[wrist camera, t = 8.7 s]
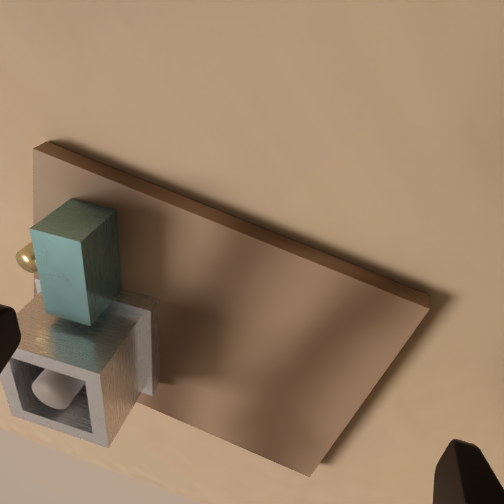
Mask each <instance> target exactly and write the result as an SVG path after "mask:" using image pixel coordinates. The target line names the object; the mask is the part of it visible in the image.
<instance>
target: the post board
mask: <svg viewBox="0 0 504 504" xmlns="http://www.w3.org/2000/svg"><path fill="white" fill-rule="evenodd" d="M70 198H73V199H77V200H81V201H85V202H89V203H93V204H97V205H101V206H105V207H109V208H114V209H117V216H118V232H119V247H120V262H121V277H122V289H124V290H128V291H132V292H135V293H139V294H142V295H146V296H150V297H153V298H157V299H159V332H160V384H159V385H158V387H157V389H156V391H155V392H154V394H153V396H151V395H148V394H145V393H141V394H140V396H139V398H138V399H137V401H136V402H139V403H141V404H143V405H145V406H148V407H150V408H152V409H155V410H157V411H159V412H161V413H164V414H166V415H168V416H171V417H173V418H175V419H177V420H180V421H182V422H184V423H187V424H189V425H191V426H194V427H196V428H198V429H200V430H203V431H205V432H207V433H210V434H212V435H214V436H216V437H219V438H221V439H223V440H226V441H228V442H230V443H232V444H235V445H237V446H239V447H242V448H244V449H246V450H249V451H251V452H253V453H255V454H258V455H260V456H262V457H265V458H267V459H269V460H271V461H274V462H276V463H278V464H281V465H283V466H285V467H287V468H290V469H292V470H294V471H297V472H299V473H301V474H303V475H306V476H308V477H310V476H311V474H312V473H313V472H314V470H315V469H316V467H317V466H318V465H319V463H320V462H321V460H322V459H323V458H324V456H325V455H326V453H327V452H328V451H329V449H330V448H331V446H332V445H333V444H334V442H335V441H336V439H337V438H338V437H339V435H340V434H341V432H342V431H343V430H344V428H345V427H346V425H347V424H348V423H349V421H350V420H351V418H352V417H353V416H354V414H355V413H356V411H357V410H358V409H359V407H360V406H361V404H362V403H363V402H364V400H365V399H366V397H367V396H368V395H369V393H370V392H371V390H372V389H373V388H374V386H375V385H376V383H377V382H378V381H379V379H380V378H381V376H382V375H383V374H384V372H385V371H386V369H387V368H388V367H389V365H390V364H391V362H392V361H393V360H394V358H395V357H396V355H397V354H398V353H399V351H400V350H401V349H402V347H403V346H404V344H405V343H406V342H407V340H408V339H409V337H410V336H411V335H412V333H413V332H414V330H415V329H416V328H417V326H418V325H419V323H420V322H421V321H422V319H423V318H424V316H425V315H426V314H427V312H428V311H429V309H430V306H429V295H427V294H425V293H422V292H420V291H417V290H415V289H412V288H410V287H407V286H405V285H402V284H400V283H397V282H395V281H393V280H390V279H388V278H385V277H383V276H380V275H378V274H375V273H373V272H370V271H368V270H365V269H363V268H360V267H358V266H355V265H353V264H350V263H348V262H345V261H343V260H340V259H338V258H335V257H333V256H330V255H328V254H325V253H323V252H320V251H318V250H315V249H313V248H311V247H308V246H306V245H303V244H301V243H298V242H296V241H293V240H291V239H288V238H286V237H283V236H281V235H278V234H276V233H273V232H271V231H268V230H266V229H263V228H261V227H258V226H256V225H253V224H251V223H248V222H246V221H243V220H241V219H238V218H236V217H234V216H231V215H229V214H226V213H224V212H221V211H219V210H216V209H214V208H211V207H209V206H206V205H204V204H201V203H199V202H196V201H194V200H191V199H189V198H186V197H184V196H181V195H179V194H176V193H174V192H171V191H169V190H166V189H164V188H161V187H159V186H156V185H154V184H152V183H149V182H147V181H144V180H142V179H139V178H137V177H134V176H132V175H129V174H127V173H124V172H122V171H119V170H117V169H114V168H112V167H109V166H107V165H104V164H102V163H99V162H97V161H94V160H92V159H89V158H87V157H84V156H82V155H79V154H77V153H75V152H72V151H70V150H67V149H65V148H62V147H60V146H57V145H55V144H52V143H50V142H45V143H43V144H41V145H39V146H37V147H35V148H33V207H34V225H35V224H36V223H38V222H39V221H40V220H42V219H43V218H45V217H46V216H47V215H49V214H50V213H51V212H53V211H54V210H55V209H57V208H58V207H60V206H61V205H62V204H64V203H65V202H66V201H68V200H69V199H70ZM37 276H38V271H37V272H35V273H34V278H36V277H37ZM37 295H38V294H37V289H36V284H35V279H34V297H35V296H37ZM84 384H85V381H84V380H80V379H77V378H74V377H71V376H68V375H65V374H62V373H58V372H55V371H52V370H49V369H46V368H45V369H44V371H43V372H42V373H41V374H40V375H39V376H38V377H37V379H36V380H35V381H34V382H33V383H32V390H33V393H34V394H35V396H36V397H37V398H38V399H39V400H40V401H41V402H43V403H44V404H46V405H48V406H50V407H52V408H55V409H65V408H67V407H68V405H69V404H70V403H71V401H72V400H73V399H74V397H75V396H76V395H77V393H78V392H79V391H80V389H81V388H82V387H83V385H84Z"/></svg>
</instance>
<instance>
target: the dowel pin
mask: <svg viewBox="0 0 504 504" xmlns="http://www.w3.org/2000/svg"><path fill="white" fill-rule="evenodd" d="M16 260H17V262H18V264H19V265H20V266H21V267H22V268H23V269H24V270H26V271H28V272H31V273H35V272H37V271H38V270H37V265H36V259H35V254H34V249H33V244H32V242H31V243H29V244H28V245H27V246H25V247H24V248H23V249H21V250H20V251H19V252H18V253H17V254H16Z"/></svg>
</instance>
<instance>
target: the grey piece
mask: <svg viewBox="0 0 504 504" xmlns="http://www.w3.org/2000/svg"><path fill="white" fill-rule="evenodd" d="M30 234H31V239H32V244H33V249H34V254H35V259H36V265H37V270H38V276H37V277H36V278H34V279H35V284H36V289H37V294H38V295H37V296H35V297H34V298H33V299H32V300H31V301H30V302H29V303H28V304H27V305H26V306H25V307H24V308H23V309H21V310H20V311H19V312H18V313H17V314H16V316H17V320H18V324H19V328H20V332H21V341H20V344H19V346H18V348H17V349H16V351H15V352H14V354H13V355H12V357H11V358H10V360H9V362H8V363H7V365H6V366H5V368H4V369H3V371H2V372H1V374H0V378H1V381H2V384H3V388H4V391H5V394H6V398H7V401H8V404H9V408H10V411H11V414H12V415H13V416H16V417H19V418H21V419H24V420H27V421H30V422H33V423H36V424H39V425H42V426H45V427H48V428H51V429H54V430H57V431H60V432H63V433H66V434H69V435H71V436H74V437H77V438H80V439H83V440H86V441H89V442H92V443H95V444H98V445H101V446H104V447H107V448H109V446H110V444H111V443H112V441H113V439H114V438H115V436H116V434H117V433H118V431H119V429H120V428H121V426H122V424H123V423H124V421H125V419H126V418H127V416H128V414H129V413H130V411H131V409H132V408H133V406H134V404H135V403H136V401H137V399H138V398H139V396H140V394H141V393H145V394H148V395H151V396H153V394H154V392H155V391H156V389H157V387H158V385H159V384H160V332H159V299H157V298H153V297H150V296H146V295H142V294H139V293H135V292H132V291H128V290H124V289H122V277H121V262H120V247H119V232H118V216H117V209H114V208H109V207H105V206H101V205H97V204H93V203H89V202H85V201H81V200H77V199H73V198H70V199H69V200H68V201H66V202H65V203H64V204H62V205H61V206H60V207H58V208H57V209H55V210H54V211H53V212H51V213H50V214H49V215H47V216H46V217H45V218H43V219H42V220H40V221H39V222H38V223H36V224H35V225H34V226H32V227H31V228H30ZM45 368H46V369H49V370H52V371H55V372H58V373H62V374H65V375H68V376H71V377H74V378H77V379H80V380H84V381H85V384H84V385H83V387H82V388H81V389H80V391H79V392H78V393H77V395H76V396H75V397H74V399H73V400H72V401H71V403H70V404H69V405H68V407H67V408H65V409H55V408H52V407H50V406H48V405H46V404H44V403H43V402H41V401H40V400H39V399H38V398H37V397H36V396H35V394H34V393H33V390H32V383H33V382H34V381H35V380H36V379H37V377H38V376H39V375H40V374H41V373H42V372H43V371H44V369H45Z"/></svg>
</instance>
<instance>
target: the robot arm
mask: <svg viewBox="0 0 504 504" xmlns="http://www.w3.org/2000/svg"><path fill="white" fill-rule="evenodd" d="M20 341H21V332H20V328H19V324H18V320H17V316H16V312H15V310H14V309H13V308H11V307H8V306H5V305H2V304H0V374H1V372H2V371H3V369H4V368H5V366H6V365H7V363H8V362H9V360H10V358H11V357H12V355H13V354H14V352H15V351H16V349H17V348H18V346H19V344H20ZM433 504H504V489H503V487H502V486H501V484H500V482H499V481H498V479H497V477H496V476H495V474H494V472H493V470H492V469H491V467H490V465H489V464H488V462H487V460H486V459H485V457H484V455H483V454H482V452H481V450H480V449H479V448H478V447H477V446H476V445H474V444H472V443H468V442H465V441H462V440H458V439H453V440H452V441H451V442H450V443H449V445H448V446H447V448H446V450H445V451H444V453H443V455H442V457H441V458H440V460H439V462H438V464H437V466H436V470H435V477H434V492H433Z"/></svg>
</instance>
